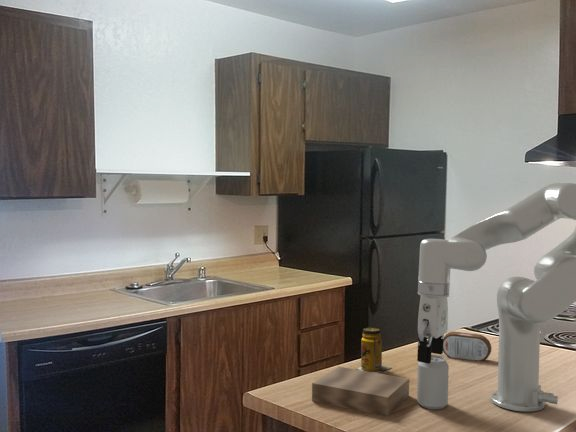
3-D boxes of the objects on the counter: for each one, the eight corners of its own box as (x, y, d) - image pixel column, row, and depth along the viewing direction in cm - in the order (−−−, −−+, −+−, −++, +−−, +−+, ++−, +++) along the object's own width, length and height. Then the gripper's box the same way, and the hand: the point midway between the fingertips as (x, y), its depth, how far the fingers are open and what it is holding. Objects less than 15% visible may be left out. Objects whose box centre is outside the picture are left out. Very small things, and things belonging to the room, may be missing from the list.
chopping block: (408, 397, 156) (409, 378, 155) (387, 418, 142) (387, 397, 141) (338, 384, 165) (338, 366, 165) (311, 402, 151) (312, 383, 151)
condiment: (354, 369, 178) (355, 329, 178) (372, 363, 184) (373, 324, 183) (374, 374, 173) (374, 333, 172) (392, 368, 179) (392, 328, 178)
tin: (491, 361, 187) (491, 334, 186) (490, 364, 184) (490, 337, 183) (442, 355, 193) (442, 329, 193) (440, 358, 190) (440, 332, 190)
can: (425, 397, 154) (426, 351, 154) (452, 404, 150) (453, 356, 149) (411, 405, 149) (412, 357, 148) (439, 413, 144) (440, 363, 143)
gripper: (438, 295, 138) (434, 369, 139) (458, 286, 153) (454, 352, 154) (406, 291, 142) (403, 363, 143) (429, 283, 157) (426, 347, 158)
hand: (430, 357), depth 148 cm, fingers open, 9 cm apart
